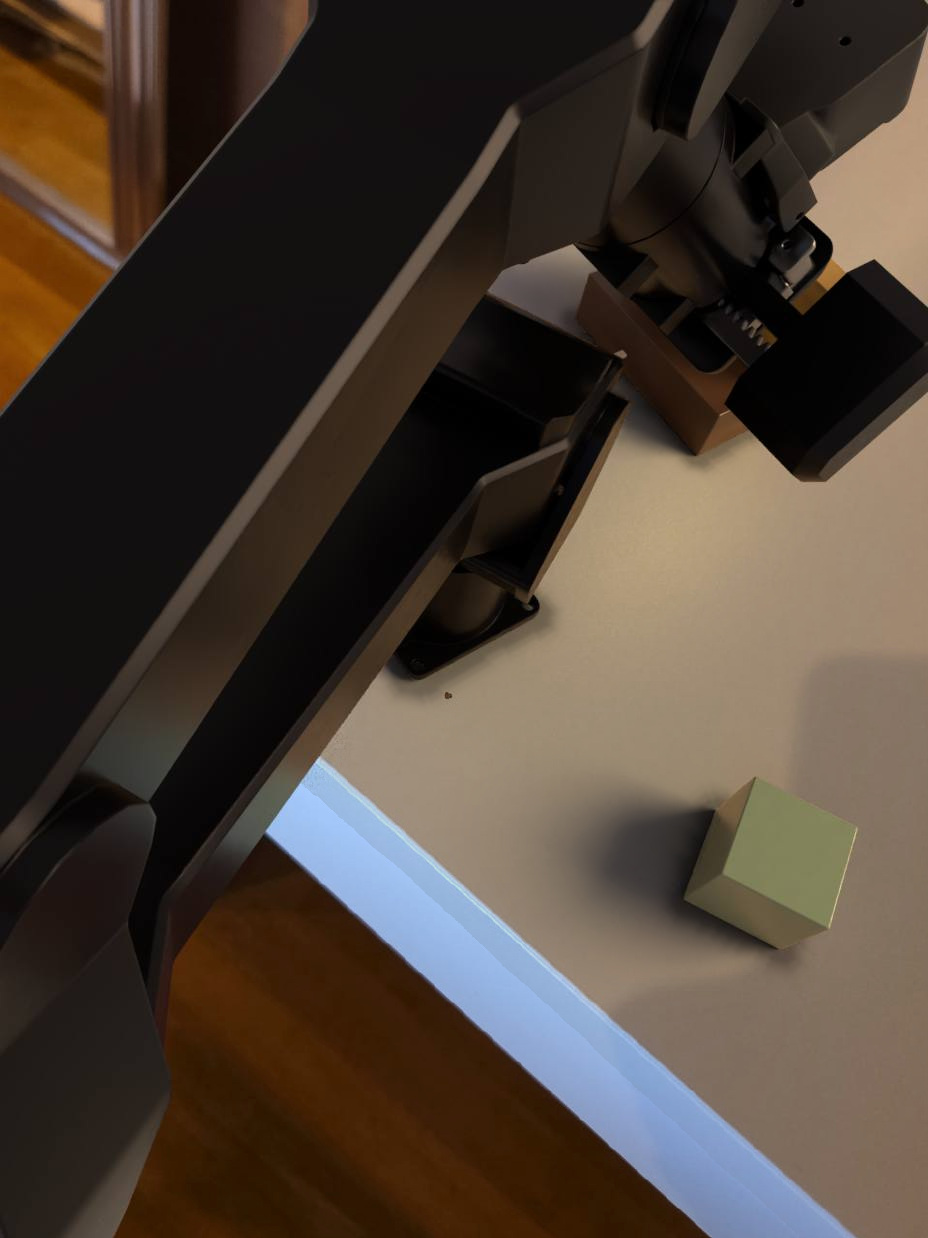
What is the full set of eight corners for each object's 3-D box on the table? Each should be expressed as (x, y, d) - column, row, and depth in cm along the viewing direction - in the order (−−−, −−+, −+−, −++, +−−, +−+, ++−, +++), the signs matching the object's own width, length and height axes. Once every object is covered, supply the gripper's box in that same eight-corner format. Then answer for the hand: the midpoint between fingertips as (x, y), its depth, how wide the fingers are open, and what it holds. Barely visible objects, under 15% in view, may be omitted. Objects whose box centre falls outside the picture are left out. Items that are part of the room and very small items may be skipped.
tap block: (881, 404, 50) (914, 361, 48) (676, 514, 45) (699, 473, 42) (706, 228, 55) (727, 180, 52) (502, 310, 50) (513, 262, 47)
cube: (780, 950, 36) (830, 930, 33) (682, 899, 37) (720, 874, 33) (809, 856, 38) (859, 827, 35) (715, 808, 39) (755, 775, 35)
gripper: (1147, 97, 22) (1090, 303, 35) (625, -287, 28) (748, 16, 41) (760, 455, 26) (843, 516, 39) (376, 51, 32) (564, 226, 45)
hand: (748, 306), depth 41 cm, fingers closed
